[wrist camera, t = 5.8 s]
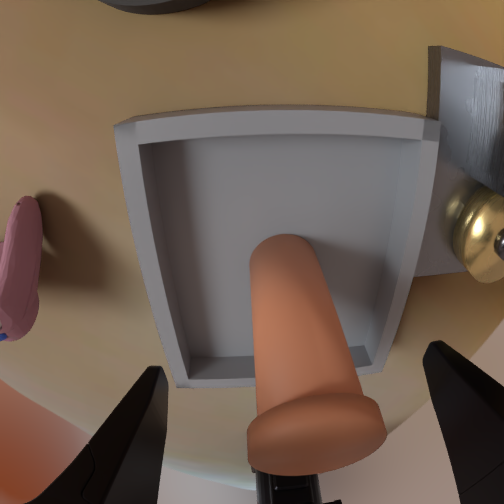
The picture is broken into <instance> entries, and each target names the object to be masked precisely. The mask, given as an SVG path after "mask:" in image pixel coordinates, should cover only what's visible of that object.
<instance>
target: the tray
mask: <svg viewBox="0 0 504 504" xmlns="http://www.w3.org/2000/svg"><path fill="white" fill-rule="evenodd" d="M440 127H441V121H438V120H435V119H432V118H428V117H425V116H422V115H419V114H416V113H411V112H403V111H394V110H385V109H374V108H362V107H348V106H328V105H248V106H228V107H213V108H201V109H190V110H180V111H172V112H163V113H156V114H149V115H142V116H135V117H131V118H129V119H127V120H124V121H122V122H120V123H118V124H115V125H114V133H115V140H116V147H117V154H118V160H119V166H120V172H121V178H122V184H123V189H124V195H125V200H126V205H127V210H128V215H129V220H130V225H131V229H132V234H133V238H134V243H135V247H136V251H137V256H138V260H139V264H140V268H141V272H142V276H143V280H144V283H145V287H146V291H147V295H148V298H149V302H150V305H151V309H152V312H153V316H154V319H155V323H156V326H157V329H158V333H159V336H160V339H161V342H162V345H163V349H164V352H165V355H166V358H167V361H168V364H169V367H170V370H171V373H172V376H173V379H174V381H175V384H176V387H177V388H230V387H253V386H256V381H255V362H254V344H253V325H252V306H251V287H250V268H249V262H250V257H251V254H252V252H253V251H254V249H255V248H256V247H257V246H258V245H259V244H260V243H261V242H262V241H264V240H265V239H267V238H269V237H272V236H275V235H279V234H291V235H296V236H299V237H301V238H303V239H305V240H306V241H307V242H308V243H309V244H310V245H311V246H312V247H313V249H314V251H315V254H316V256H317V259H318V262H319V264H320V267H321V270H322V272H323V275H324V278H325V281H326V283H327V286H328V289H329V292H330V295H331V297H332V300H333V303H334V306H335V309H336V312H337V315H338V318H339V320H340V323H341V326H342V329H343V332H344V335H345V338H346V341H347V344H348V347H349V350H350V353H351V357H352V360H353V363H354V366H355V369H356V372H357V375H358V376H360V375H367V374H373V373H378V372H382V370H383V367H384V365H385V362H386V360H387V357H388V354H389V351H390V349H391V346H392V343H393V340H394V337H395V335H396V332H397V329H398V326H399V323H400V320H401V317H402V313H403V310H404V307H405V304H406V301H407V297H408V294H409V290H410V287H411V283H412V280H413V276H414V272H415V269H416V265H417V261H418V257H419V253H420V249H421V244H422V240H423V236H424V231H425V226H426V222H427V217H428V211H429V206H430V201H431V195H432V189H433V183H434V177H435V170H436V163H437V155H438V147H439V138H440Z"/></svg>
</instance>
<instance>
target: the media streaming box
mask: <svg viewBox="0 0 504 504" xmlns="http://www.w3.org/2000/svg"><path fill="white" fill-rule="evenodd" d="M99 1H101V2H103V3H105V4H107V5H110V6H112V7H114V8H116V9H119V10H122V11H125V12H130V13H136V14H150V15H151V14H166V13H173V12H178V11H182V10H187V9H190V8H193V7H196V6H199V5H202V4H204V3H206V2H208V1H210V0H99Z"/></svg>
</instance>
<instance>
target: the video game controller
mask: <svg viewBox="0 0 504 504" xmlns="http://www.w3.org/2000/svg"><path fill="white" fill-rule="evenodd" d="M42 240H43V229H42V217H41V212H40V208H39V204H38V201H37V200H35V199H34V198H33V197H31V196H24V197H22V198H21V199H20V200H19V201H18V202H17V203H16V204H15V206H14V208H13V210H12V212H11V214H10V217H9V219H8V223H7V228H6V233H5V239H4V242H0V341H3V340H4V341H15V340H18V339H20V338H22V337H23V336H25V335H26V334H27V333H28V332H29V331H30V329H31V328H32V326H33V324H34V322H35V320H36V317H37V314H38V309H39V298H38V293H37V288H38V280H39V271H40V263H41V252H42Z"/></svg>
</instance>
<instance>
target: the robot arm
mask: <svg viewBox="0 0 504 504" xmlns="http://www.w3.org/2000/svg"><path fill="white" fill-rule="evenodd" d="M423 367H424V371H425V375H426V379H427V383H428V387H429V392H430V396H431V400H432V403H433V406H434V409H435V412H436V415H437V418H438V421H439V425H440V428H441V431H442V434H443V438H444V441H445V444H446V448H447V451H448V455H449V458H450V462H451V466H452V470H453V473H454V477H455V481H456V485H457V490H458V494H459V498H460V503H461V504H504V387H503V386H502V385H501V384H500V383H498V382H497V381H496V380H494V379H493V378H492V377H490V376H489V375H488V374H486V373H485V372H483V371H482V370H481V369H480V368H478V367H477V366H476V365H474V364H473V363H472V362H470V361H469V360H468V359H466V358H465V357H464V356H462V355H461V354H460V353H458V352H457V351H455V350H454V349H453V348H451V347H450V346H449V345H447V344H446V343H445V342H443V341H441V340H438V341H433V342H431V343H430V344H429V346H428V348H427V350H426V352H425V354H424V357H423ZM167 414H168V381H167V378H166V375H165V373H164V370H163V368H162V367H161V366H149V367H147V369H146V370H145V371H144V372H143V374H142V375H141V376H140V377H139V379H138V380H137V381H136V382H135V384H134V385H133V386H132V388H131V389H130V390H129V391H128V393H127V394H126V395H125V396H124V398H123V399H122V400H121V401H120V403H119V404H118V405H117V406H116V408H115V409H114V410H113V412H112V413H111V414H110V415H109V417H108V418H107V419H106V420H105V422H104V423H103V424H102V425H101V427H100V428H99V429H98V431H97V432H96V433H95V434H94V436H93V437H92V438H91V440H90V441H89V442H88V444H86V446H85V447H84V448H83V449H82V451H81V452H80V453H79V454H78V456H77V457H76V458H75V459H74V460H73V462H72V463H71V464H70V465H69V466H68V467H67V468H66V469H65V470H64V471H63V472H62V473H61V474H60V475H59V476H58V477H57V478H56V479H55V480H54V481H53V482H52V483H51V484H50V485H49V486H48V487H47V488H46V489H45V490H44V491H43V492H42V493H41V494H40V495H39V496H37V497H36V498H35V499H33V500H32V501H29V502H27V503H25V504H157V499H158V491H159V482H160V475H161V468H162V461H163V454H164V447H165V440H166V433H167ZM251 469H252V472H253V473H256V489H257V504H322V498H321V492H320V486H319V480H318V474H311V475H301V476H283V475H274V474H268V473H265V472H261V471H259V470H257V469H255V468H253V467H252V466H251ZM323 504H342V502H341V500H335V501H334V502H329V503H323Z"/></svg>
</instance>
